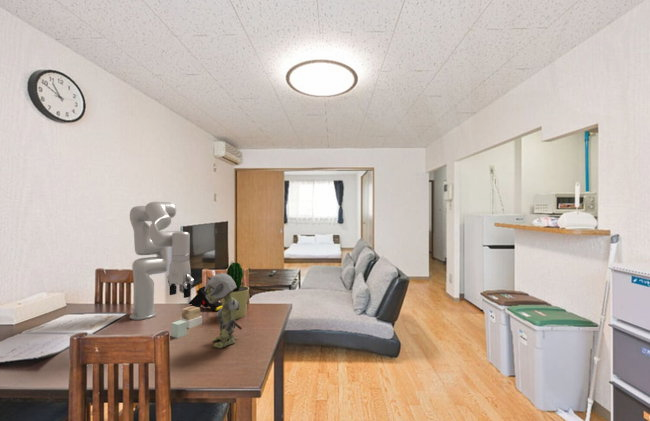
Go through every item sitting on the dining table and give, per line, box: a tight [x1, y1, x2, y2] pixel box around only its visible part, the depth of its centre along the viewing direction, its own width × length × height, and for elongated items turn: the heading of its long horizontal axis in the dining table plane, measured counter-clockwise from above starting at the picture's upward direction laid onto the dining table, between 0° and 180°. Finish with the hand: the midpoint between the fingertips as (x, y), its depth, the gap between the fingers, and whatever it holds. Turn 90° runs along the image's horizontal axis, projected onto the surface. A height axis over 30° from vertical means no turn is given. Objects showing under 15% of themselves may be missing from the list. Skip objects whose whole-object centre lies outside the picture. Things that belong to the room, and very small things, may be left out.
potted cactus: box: [220, 261, 250, 320], centre depth 169 cm, size 15×15×30 cm
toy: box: [204, 273, 243, 349], centre depth 133 cm, size 15×16×30 cm
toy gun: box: [187, 285, 223, 312], centre depth 180 cm, size 5×18×12 cm
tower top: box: [181, 306, 201, 320], centre depth 154 cm, size 6×6×4 cm
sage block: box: [170, 320, 188, 339], centre depth 140 cm, size 5×5×6 cm
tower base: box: [178, 315, 203, 329], centre depth 154 cm, size 8×8×4 cm
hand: (179, 295), depth 140 cm, fingers open, 9 cm apart
